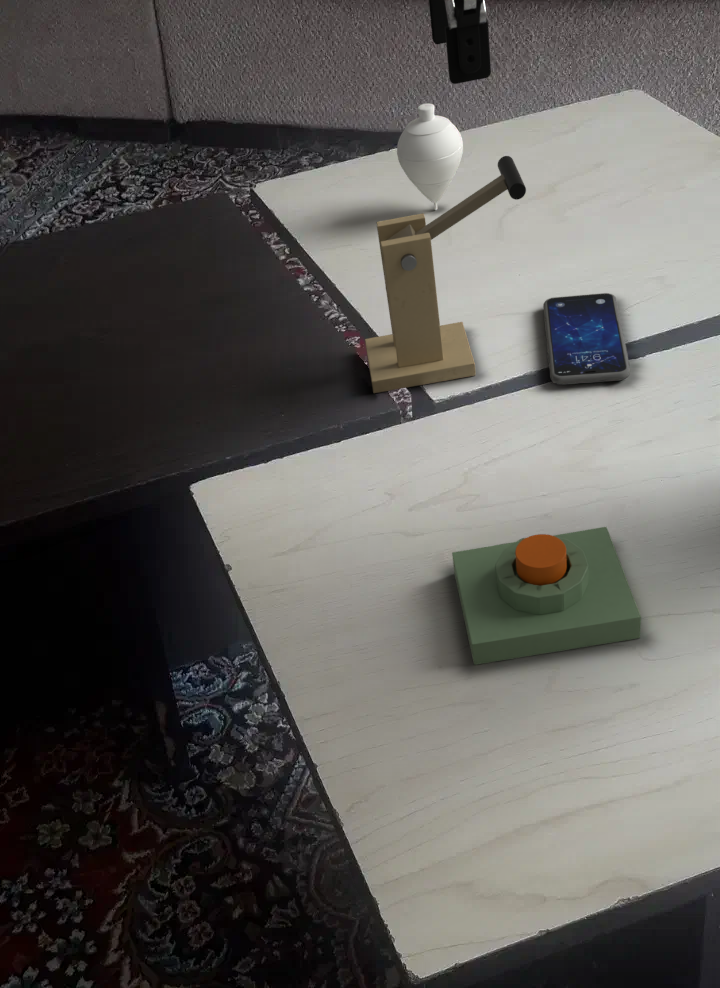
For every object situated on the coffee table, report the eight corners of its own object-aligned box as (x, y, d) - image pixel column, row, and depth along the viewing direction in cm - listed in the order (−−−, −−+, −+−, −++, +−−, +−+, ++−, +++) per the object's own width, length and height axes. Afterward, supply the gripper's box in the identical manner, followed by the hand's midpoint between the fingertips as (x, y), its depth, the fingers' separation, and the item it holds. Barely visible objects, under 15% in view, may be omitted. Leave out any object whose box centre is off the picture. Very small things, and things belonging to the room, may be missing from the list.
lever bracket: (463, 333, 108) (451, 200, 98) (475, 375, 102) (464, 239, 92) (366, 350, 108) (345, 220, 98) (373, 393, 103) (351, 259, 93)
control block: (606, 547, 83) (606, 508, 80) (640, 638, 76) (642, 598, 73) (454, 573, 84) (449, 534, 81) (474, 665, 77) (469, 626, 74)
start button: (560, 548, 78) (560, 530, 77) (571, 580, 76) (571, 562, 75) (512, 556, 79) (511, 538, 77) (521, 589, 76) (520, 571, 75)
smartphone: (616, 290, 107) (632, 373, 97) (615, 299, 108) (631, 382, 98) (541, 297, 108) (550, 379, 98) (542, 305, 109) (550, 388, 99)
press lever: (518, 170, 95) (506, 147, 94) (531, 198, 91) (518, 175, 90) (395, 252, 100) (382, 232, 99) (402, 282, 96) (388, 261, 94)
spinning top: (395, 223, 127) (381, 119, 119) (417, 194, 132) (406, 92, 123) (455, 225, 124) (446, 119, 116) (476, 196, 129) (468, 92, 120)
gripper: (517, -197, 68) (527, 87, 80) (473, -233, 80) (488, 18, 92) (401, -173, 68) (429, 106, 80) (375, -212, 80) (402, 35, 92)
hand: (460, 59), depth 86 cm, fingers open, 9 cm apart
